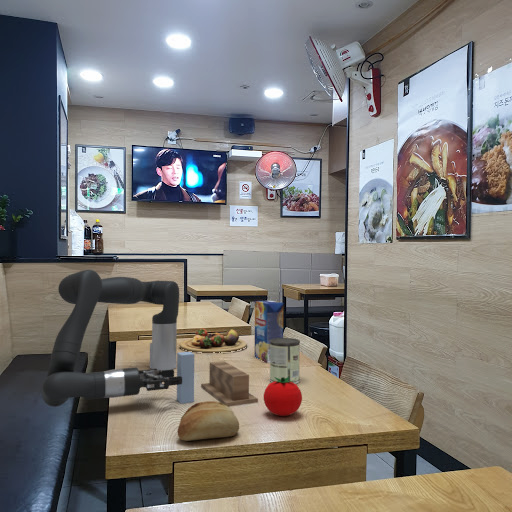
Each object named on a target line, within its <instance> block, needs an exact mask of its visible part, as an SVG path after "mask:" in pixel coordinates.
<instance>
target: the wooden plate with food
mask: <svg viewBox="0 0 512 512" xmlns="http://www.w3.org/2000/svg"><path fill="white" fill-rule="evenodd" d="M208 333H209V332H208V331H207V329H205V328H203V327H201V328H198V330H196V332H195V334H194V336H192V338H190V339H186V340H183V341H181V342H180V343H179V346H180V347H179V349H180V348H182V349H184V350H187V351H192V352H202V353H213V352H215V353H219V352H220V353H221V352H231V351H237V350H240V349H243V348H245V347H246V346H247V347H248V343H247V342H246V341H245V340H243V339H240V334H239V333H238V332H237V331H236V330H234V329H231V328H230V330H229V331H228V332H227V335H224V334H220V333H219V332H212V333H209V334H208ZM247 347H246V348H247ZM187 351H186V352H187Z"/></svg>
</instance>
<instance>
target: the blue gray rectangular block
mask: <svg viewBox="0 0 512 512" xmlns="http://www.w3.org/2000/svg"><path fill="white" fill-rule="evenodd" d="M176 376H181V377H182V384H180V385H176V401H177V402H178V403H180V404H183V405H184V404H188V403H189V404H190V403H195V353H192V352H187V351H183V352H176Z"/></svg>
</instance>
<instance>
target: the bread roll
mask: <svg viewBox="0 0 512 512" xmlns="http://www.w3.org/2000/svg"><path fill="white" fill-rule="evenodd" d="M239 431H240V423H239V419H238V417H237V416H236V415H235V413H234V411H233V410H232V408H230V406H227V405H226V404H223V403H221V402H220V401H215V400H213V401H211V400H210V401H200V402H197V403H193V405H191V406H190V407H189V408H188V409H187V410H186V411H185V413H183V415H182V416H181V418H180V421H179V425H178V427H177V437H178V438H179V440H180V441H181V440H182V441H185V442H187V441H189V442H190V441H198V440H199V441H200V440H206V439H217V438H219V439H220V438H230V437H233V436H235V435H237V434H238V432H239Z"/></svg>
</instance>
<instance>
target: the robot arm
mask: <svg viewBox="0 0 512 512" xmlns="http://www.w3.org/2000/svg"><path fill="white" fill-rule="evenodd" d="M57 288H58V294H59V297H60V298H61V299H62V300H64V301H65V302H66V303H68V304H72V305H74V307H73V309H72V311H71V313H70V314H69V316H68V317H67V319H66V321H65V322H64V324H63V325H62V327H61V328H60V330H59V331H58V333H57V335H56V336H55V337H56V338H55V340H54V345H53V348H52V351H51V354H50V355H51V356H50V360H49V361H50V362H49V369H48V372H47V375H46V378H44V381H43V383H42V386H41V387H42V390H41V396H42V400H43V402H44V403H45V404H46V405H48V406H50V407H60V406H62V405H63V404H65V403H66V402H67V401H68V399H69V398H82V399H84V400H96V399H104V398H105V399H107V398H108V399H110V398H121V397H129V396H136V395H139V394H140V393H141V392H140V391H141V389H142V388H145V389H146V391H148V392H150V391H162V390H168V389H169V388H170V387H171V386H177V385H180V384H182V377H181V376H177V375H176V376H175V370H174V369H177V343H178V342H177V338H178V337H177V335H178V334H177V331H178V330H177V329H178V327H177V326H178V325H177V324H178V323H177V322H178V316H179V310H180V309H179V307H180V305H179V304H180V288H179V285H178V283H177V282H176V281H174V280H153V281H142V280H140V279H138V278H136V277H135V278H134V277H131V276H130V277H129V276H113V277H107V278H101V277H100V275H99V273H98V272H96V271H95V270H93V269H84V270H80V271H77V272H75V273H71V274H69V275H67V276H65V277H64V278H63V279H61V281H60V282H59V284H58V287H57ZM140 302H143V303H148V304H153V305H161V306H162V310H161V311H160V312H158V313H156V314H155V313H154V314H153V315H152V317H151V319H152V321H151V322H152V323H151V324H152V325H151V327H152V328H151V329H152V330H151V342H149V369H142V370H141V369H140V370H139V368H138V367H137V366H136V367H128V368H117V369H116V368H114V369H109V370H105V371H95V372H88V373H87V372H76V371H75V370H76V368H77V364H78V360H79V357H80V353H81V349H82V344H83V340H84V336H85V334H86V331H87V327H88V326H89V324H90V321H91V318H92V316H93V314H94V310H95V309H96V306H97V304H98V303H104V304H118V305H133V304H138V303H140Z"/></svg>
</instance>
